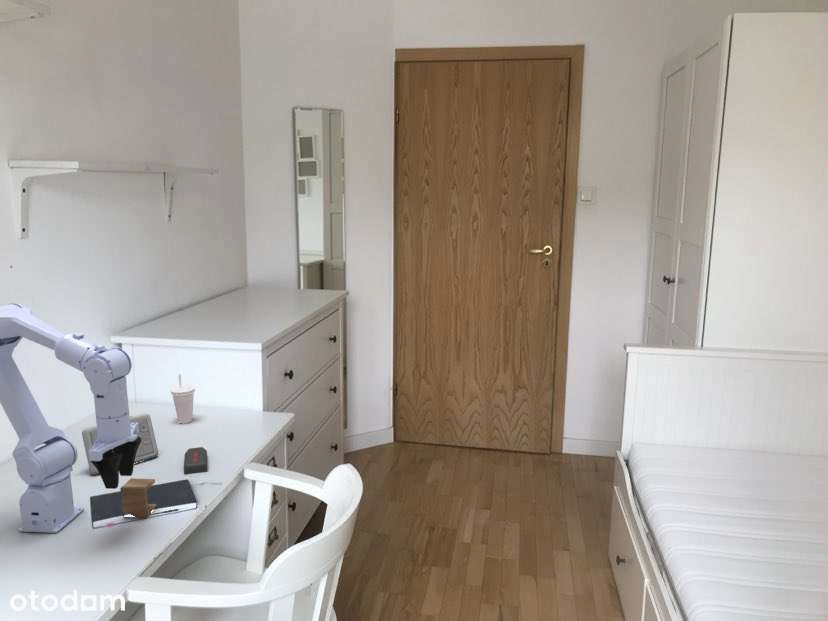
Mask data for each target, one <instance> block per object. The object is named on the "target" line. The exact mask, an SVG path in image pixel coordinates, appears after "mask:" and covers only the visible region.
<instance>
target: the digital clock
mask: <svg viewBox="0 0 828 621" xmlns="http://www.w3.org/2000/svg"><path fill="white" fill-rule="evenodd" d="M130 423H138V424H139V432H138V433H134V434H136V435H137V437H141V443H140V445H139V447H138V450H137V453H136V456H135V461H134V463H136V462H140V461H143V460H145V461H146V460H150V459H153V458H156V457H158V455H159V449H158V444H157V440H156V436H155V431H154V427H153V422H152V418H151V416H150V414H149V413H143V414H138V415H134V416H133V415H132V416H130ZM81 435H82V442H83V446H84V449H85V450H84V451H85V455H86V459H87V463H88V464H87V465H88V468H89V471H90V474H91V475H100V474H99V472H98V470H97V469H96V467H95V466H94V465H93V464H92V463H91V462H90V461H89V452H88V451H89V450H90V449H91V448H92V447H93V445H94V443H95V441H96V439H97V438H98V432H97V425H92V426H90V427H87V428H85V427H84V428H83V430H82V431H81ZM112 452H114V451H113V449H112ZM114 454H115V453H114ZM143 462H144V461H143ZM140 463H141V462H140Z"/></svg>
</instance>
